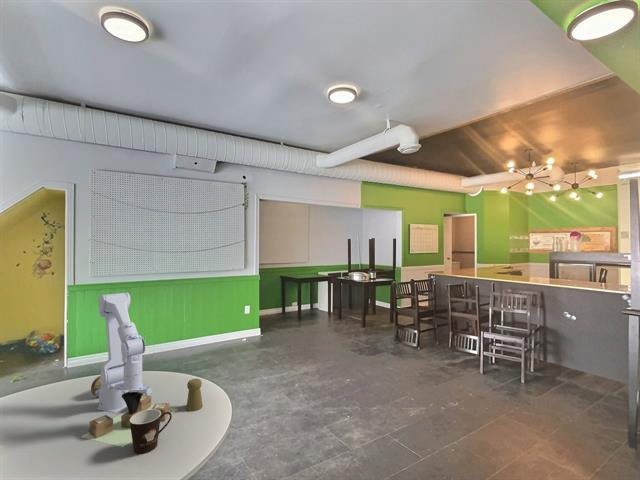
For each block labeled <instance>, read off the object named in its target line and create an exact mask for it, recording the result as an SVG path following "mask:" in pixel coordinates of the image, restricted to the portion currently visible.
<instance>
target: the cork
mask: <svg viewBox="0 0 640 480" xmlns="http://www.w3.org/2000/svg"><path fill="white" fill-rule="evenodd" d="M202 384H203V383H202V380H201V379H200V378H192V379H190V380H189V381H187V385H186V387H187V389H188V394H187V401H186V408H185V409H186V411H187V412H192V413H193V412H198V411H199V410H201V409H203V405H204V404H203V400H202V392H201V387H202Z"/></svg>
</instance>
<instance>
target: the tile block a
mask: <svg viewBox="0 0 640 480" xmlns="http://www.w3.org/2000/svg"><path fill="white" fill-rule="evenodd" d="M88 423H89V430H88V431H89V432H88V433H89V434H91V435H92V436H94V437H95V438H99V437H101V436H103V435H105V434H107V433H110V432H112V431H113V418H112V417H110V416H109V415H107V414H104V415H103V416H99V417H97V418H95V419H93V420H89V422H88Z"/></svg>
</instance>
